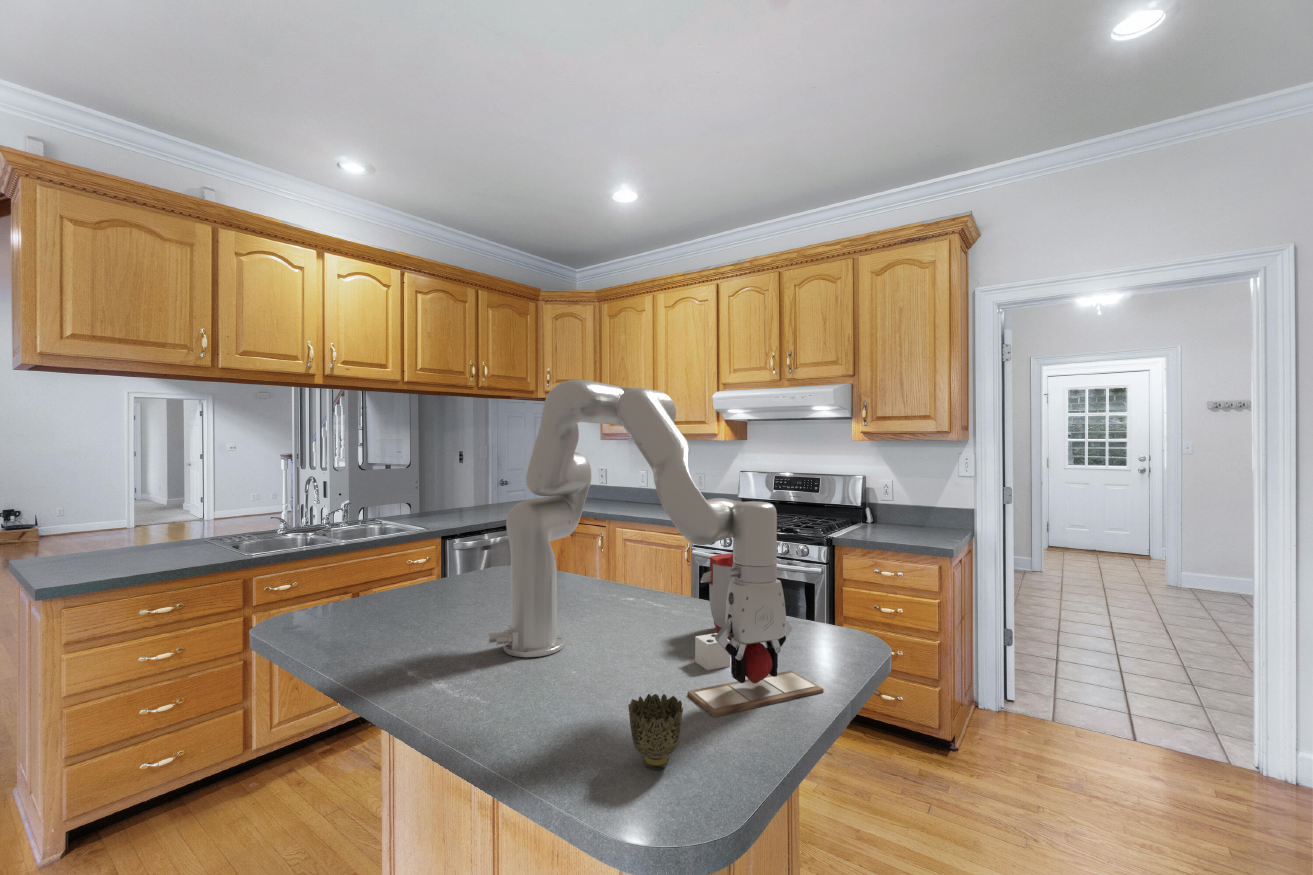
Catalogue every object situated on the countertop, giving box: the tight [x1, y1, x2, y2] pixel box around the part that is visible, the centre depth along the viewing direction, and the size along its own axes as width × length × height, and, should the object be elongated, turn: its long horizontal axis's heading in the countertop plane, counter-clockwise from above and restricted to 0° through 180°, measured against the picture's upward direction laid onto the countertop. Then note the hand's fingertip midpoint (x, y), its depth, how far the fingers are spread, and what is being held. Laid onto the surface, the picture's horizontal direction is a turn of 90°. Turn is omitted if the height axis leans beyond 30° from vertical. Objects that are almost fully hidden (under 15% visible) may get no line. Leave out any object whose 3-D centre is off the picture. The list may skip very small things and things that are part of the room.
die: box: [694, 632, 731, 671], centre depth 114 cm, size 5×5×5 cm
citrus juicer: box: [700, 552, 733, 640], centre depth 133 cm, size 16×17×20 cm
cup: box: [628, 693, 684, 770], centre depth 78 cm, size 8×7×8 cm
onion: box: [742, 642, 772, 683], centre depth 100 cm, size 6×6×8 cm
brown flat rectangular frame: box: [687, 670, 825, 717], centre depth 100 cm, size 22×9×1 cm, turn 114°
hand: (754, 675), depth 100 cm, fingers closed on onion, 5 cm apart
